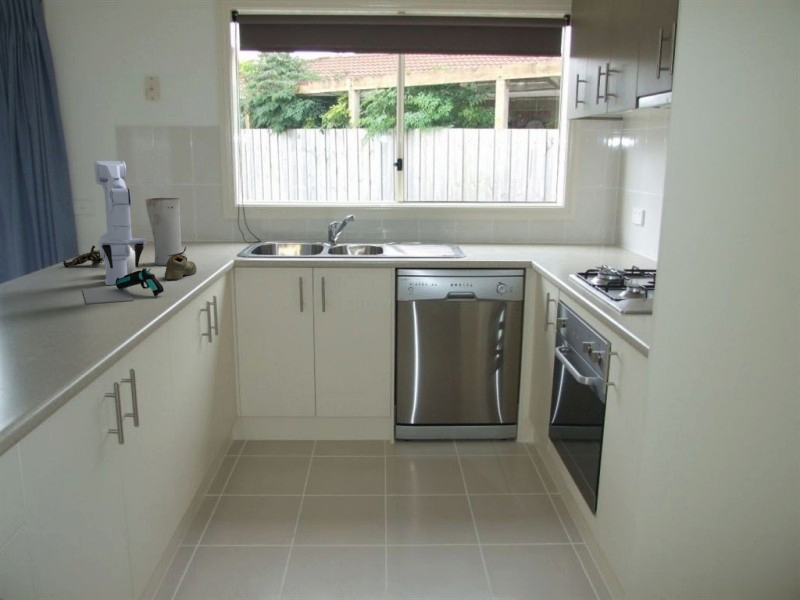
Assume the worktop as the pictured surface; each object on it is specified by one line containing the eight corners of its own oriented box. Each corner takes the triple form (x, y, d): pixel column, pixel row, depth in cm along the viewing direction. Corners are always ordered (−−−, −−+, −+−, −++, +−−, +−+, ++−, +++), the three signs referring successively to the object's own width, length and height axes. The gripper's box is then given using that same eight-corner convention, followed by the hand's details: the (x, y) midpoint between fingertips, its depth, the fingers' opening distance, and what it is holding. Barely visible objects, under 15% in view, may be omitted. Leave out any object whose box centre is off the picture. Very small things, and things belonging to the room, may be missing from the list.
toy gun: (127, 305, 235) (119, 277, 234) (166, 292, 225) (158, 263, 225) (120, 306, 232) (112, 278, 232) (159, 293, 222) (151, 264, 222)
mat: (82, 290, 231) (82, 289, 231) (126, 287, 238) (125, 286, 238) (86, 304, 211) (86, 303, 211) (134, 300, 217) (133, 299, 217)
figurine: (61, 255, 279) (105, 240, 285) (70, 273, 281) (113, 258, 287) (59, 257, 270) (105, 242, 276) (68, 276, 273) (113, 261, 278)
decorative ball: (139, 277, 257) (137, 246, 255) (105, 279, 252) (103, 247, 250) (137, 272, 268) (135, 242, 265) (104, 273, 263) (102, 243, 260)
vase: (152, 262, 293) (146, 198, 287) (185, 260, 297) (179, 197, 291) (150, 267, 281) (144, 200, 275) (185, 265, 285) (179, 199, 279)
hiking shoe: (199, 272, 271) (198, 242, 269) (179, 281, 252) (178, 249, 249) (179, 271, 272) (177, 242, 269) (157, 280, 252) (156, 249, 250)
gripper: (97, 227, 210) (101, 270, 213) (146, 226, 217) (149, 267, 219) (96, 225, 216) (99, 267, 219) (144, 224, 223) (146, 264, 226)
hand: (124, 267), depth 220 cm, fingers open, 7 cm apart
